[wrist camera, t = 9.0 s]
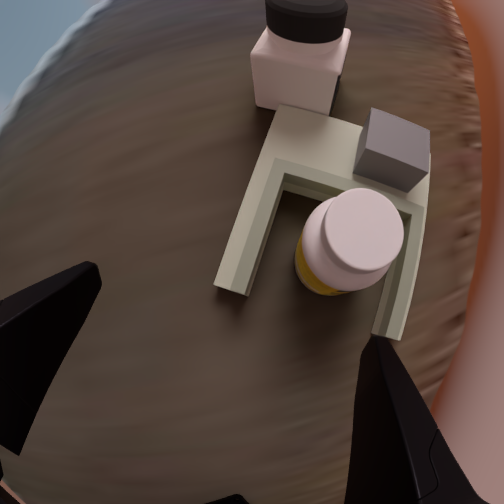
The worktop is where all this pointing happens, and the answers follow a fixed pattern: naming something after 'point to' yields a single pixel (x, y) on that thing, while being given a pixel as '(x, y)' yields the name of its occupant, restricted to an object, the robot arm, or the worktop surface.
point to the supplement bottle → (348, 242)
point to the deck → (336, 192)
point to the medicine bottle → (301, 54)
